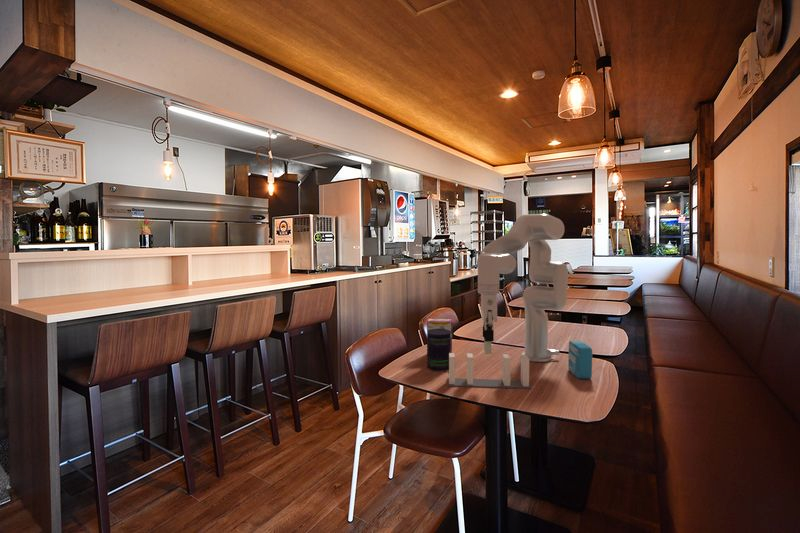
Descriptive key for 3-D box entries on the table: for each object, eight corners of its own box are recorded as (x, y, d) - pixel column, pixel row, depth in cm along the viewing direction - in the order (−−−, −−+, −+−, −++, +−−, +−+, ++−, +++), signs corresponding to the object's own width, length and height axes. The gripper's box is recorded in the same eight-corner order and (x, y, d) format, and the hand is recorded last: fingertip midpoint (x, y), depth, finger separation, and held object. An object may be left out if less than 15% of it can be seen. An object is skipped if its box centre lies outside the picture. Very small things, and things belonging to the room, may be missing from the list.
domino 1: (454, 379, 151) (454, 353, 150) (454, 384, 146) (454, 357, 145) (449, 379, 151) (449, 352, 151) (449, 384, 146) (449, 356, 146)
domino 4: (526, 381, 148) (526, 354, 147) (528, 386, 143) (529, 358, 142) (520, 381, 148) (520, 354, 148) (523, 386, 143) (523, 358, 143)
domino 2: (472, 379, 150) (472, 353, 150) (473, 384, 145) (473, 357, 145) (466, 379, 151) (466, 353, 150) (467, 384, 146) (467, 357, 145)
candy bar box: (426, 357, 180) (426, 320, 179) (427, 354, 185) (427, 318, 184) (452, 357, 179) (452, 321, 178) (451, 354, 184) (451, 318, 183)
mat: (527, 381, 149) (527, 380, 149) (531, 388, 142) (531, 387, 142) (446, 379, 153) (446, 378, 153) (447, 386, 145) (447, 385, 145)
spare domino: (489, 350, 149) (490, 323, 148) (491, 354, 144) (491, 326, 143) (484, 350, 149) (484, 323, 148) (485, 354, 144) (485, 326, 143)
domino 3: (508, 380, 149) (508, 354, 148) (510, 385, 144) (510, 358, 143) (502, 380, 149) (502, 354, 148) (504, 385, 144) (504, 358, 143)
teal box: (568, 369, 162) (568, 339, 161) (579, 369, 162) (580, 339, 161) (579, 380, 150) (580, 348, 149) (591, 380, 150) (592, 348, 149)
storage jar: (447, 372, 160) (447, 335, 159) (423, 369, 163) (423, 333, 162) (453, 364, 169) (453, 329, 168) (430, 362, 173) (430, 328, 171)
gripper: (502, 292, 136) (501, 345, 137) (496, 286, 153) (495, 333, 154) (479, 292, 137) (479, 345, 138) (476, 286, 153) (475, 333, 155)
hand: (488, 338), depth 146 cm, fingers closed on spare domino, 4 cm apart
